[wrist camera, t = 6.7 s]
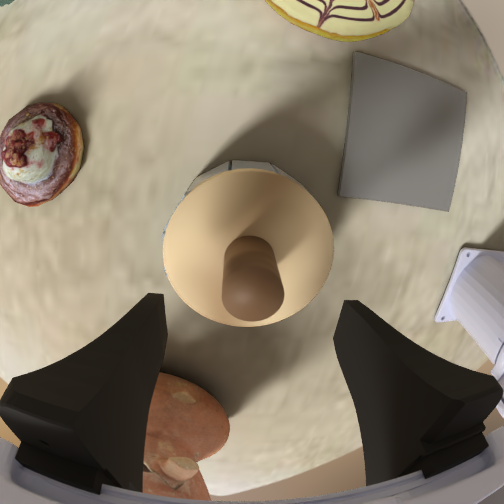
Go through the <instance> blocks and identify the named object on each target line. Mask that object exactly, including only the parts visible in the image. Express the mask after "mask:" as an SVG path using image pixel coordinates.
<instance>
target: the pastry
mask: <svg viewBox="0 0 504 504" xmlns="http://www.w3.org/2000/svg"><path fill="white" fill-rule="evenodd" d="M83 151H84V144H83V138H82V132H81V128H80V126H79V125H78V123H77V122H76V121H75V119H74V118H73V117H72V115H71V114H70V113H69V112H68V111H67V110H66V108H65V107H63V106H61V105H59V104H57V103H37V104H33V105H29V106H27V107H25V108H24V109H23V110H21V111H20V112H19V113H17V114H16V115H15V116H13V117H12V118H11V119H9V121H8V123H7V124H6V126H5V128H4V130H3V131H2V133H1V136H0V185H1V186H2V188H3V189H4V190H5V191H6V192H7V193H8V194H9V196H10V197H11V198H12V199H13V200H14V201H15V202H17V203H20V204H23V205H26V206H28V207H31V206H39V205H41V204H43V203H46V202H48V201H50V200H53V199H54V198H55V197H57V196H58V195H59V194H60V193H62V192H63V191H64V190H65V189H66V188H67V187H68V186H69V185H70V184H71V183H72V182H73V181H74V179H75V177H76V175H77V174H78V172H79V170H80V167H81V161H82V156H83Z"/></svg>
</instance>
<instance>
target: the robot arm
mask: <svg viewBox="0 0 504 504" xmlns="http://www.w3.org/2000/svg"><path fill="white" fill-rule="evenodd" d="M434 320H435V321H436V322H445V321H454V320H458V321H459V322H460V323H461V325H462V326H463V327H464V328H465V329H466V331H467V332H468V333H469V334H470V335H471V337H472V338H473V339H474V340H475V342H476V343H477V344H478V345H479V347H480V348H481V349H482V350H483V352H484V353H485V354H486V355H487V357H488V358H489V359H490V361H491V362H492V363H493V364H494V368H493V369H492V371H491V374H492V375H493V376H491V375H487V374H483V373H480V372H476V371H472V370H470V369H467V368H464V367H461V366H458V365H456V364H454V363H451V362H449V361H447V360H445V359H443V358H441V357H438V356H436V355H435V354H433V353H431V352H429V351H427V350H426V349H424V348H422V347H421V346H419V345H417V344H416V343H414V342H413V341H411V340H410V339H408V338H407V337H405V336H404V335H403V334H401V333H400V332H398V331H397V330H396V329H394V328H393V327H392V326H391V325H389V324H388V323H387V322H385V321H384V320H383V319H382V318H380V317H379V316H378V315H377V314H375V313H374V312H373V311H372V310H370V309H369V308H368V307H366V306H365V305H364V304H362V303H361V302H359V301H358V300H344V303H343V306H342V310H341V313H340V317H339V320H338V324H337V327H336V330H335V333H334V337H333V340H334V345H335V350H336V354H337V358H338V361H339V364H340V367H341V369H342V372H343V375H344V377H345V380H346V383H347V385H348V388H349V391H350V393H351V396H352V399H353V402H354V405H355V408H356V413H357V417H358V422H359V426H360V432H361V438H362V444H363V451H364V460H365V471H366V487H362V488H357V489H353V490H348V491H343V492H338V493H333V494H327V495H320V496H313V497H305V498H296V499H286V500H274V501H248V502H247V501H246V502H245V501H244V502H237V501H236V502H235V501H234V502H233V501H232V502H231V501H206V500H193V499H182V498H173V497H166V496H159V495H152V494H147V493H143V463H144V449H145V439H146V430H147V422H148V415H149V409H150V404H151V400H152V396H153V392H154V389H155V385H156V382H157V378H158V375H159V372H160V368H161V365H162V361H163V358H164V354H165V348H166V341H167V335H168V333H167V324H166V315H165V305H164V295H163V294H156V293H148V294H147V295H146V296H145V297H144V298H142V299H141V300H140V301H139V302H138V303H137V304H136V305H135V306H134V307H133V308H132V309H131V310H130V311H129V312H128V313H127V314H125V315H124V316H123V317H122V318H121V319H120V320H119V321H118V322H117V323H115V324H114V325H113V326H112V327H111V328H109V329H108V330H107V331H106V332H104V333H103V334H102V335H101V336H99V337H98V338H97V339H95V340H94V341H92V342H91V343H89V344H88V345H86V346H85V347H83V348H82V349H80V350H78V351H76V352H74V353H73V354H71V355H69V356H67V357H66V358H64V359H62V360H60V361H58V362H55V363H53V364H51V365H49V366H46V367H44V368H42V369H39V370H36V371H33V372H30V373H27V374H24V375H21V376H18V377H14V378H12V380H11V382H10V383H9V385H8V387H7V389H6V390H5V392H4V394H3V396H2V398H1V400H0V416H1V418H2V419H3V421H4V422H5V423H6V424H7V426H8V427H9V428H10V429H11V430H12V432H13V433H14V434H15V435H16V436H17V437H18V438H19V439H20V441H21V444H20V447H19V448H18V447H17V446H15V445H14V444H12V443H11V442H9V441H7V440H5V439H3V438H1V437H0V504H477V503H478V502H480V501H481V500H483V499H484V498H486V497H487V496H489V495H491V494H492V493H493V492H495V491H496V490H498V489H499V488H501V487H502V486H503V485H504V426H502V427H500V428H498V429H496V430H495V431H493V432H491V433H490V434H488V435H487V436H486V437H484V435H483V433H482V432H483V431H484V430H485V425H484V424H483V421H484V420H485V419H486V418H487V417H488V415H489V414H490V413H491V412H492V411H493V410H494V408H495V407H496V408H497V410H498V411H499V413H500V414H501V416H502V417H503V418H504V251H496V250H486V249H475V248H462V249H461V250H460V253H459V256H458V259H457V262H456V264H455V267H454V270H453V273H452V276H451V278H450V281H449V284H448V286H447V289H446V291H445V294H444V296H443V299H442V301H441V303H440V306H439V308H438V311H437V313H436V315H435V318H434Z"/></svg>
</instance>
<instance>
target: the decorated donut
mask: <svg viewBox="0 0 504 504" xmlns="http://www.w3.org/2000/svg"><path fill="white" fill-rule="evenodd" d="M265 1H266V2H267V3H268V4H269V5H270V6H271V7H272V9H274V10H275V11H276V12H277V13H278V14H279V15H280V16H282V17H283V18H285V19H286V20H287V21H289V22H290V23H292V24H294V25H296V26H298V27H300V28H302V29H304V30H306V31H309V32H312V33H315V34H317V35H320V36H323V37H326V38H329V39H333V40H338V41H344V42H354V41H360V40H365V39H368V38H374V37H376V36H378V35H382V34H384V33H386V32H388V31H390V30H391V29H393V28H395V27H397V26H398V25H400V24H401V23H402V22H403V21H405V20H406V19H407V18H408V16H409V15H410V13H411V10H412V6H413V3H414V0H265Z"/></svg>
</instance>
